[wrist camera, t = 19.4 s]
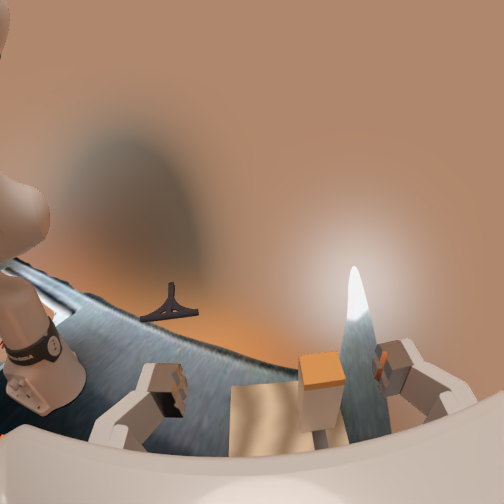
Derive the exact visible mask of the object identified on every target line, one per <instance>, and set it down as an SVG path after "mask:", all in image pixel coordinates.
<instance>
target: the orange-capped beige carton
mask: <svg viewBox="0 0 504 504" xmlns="http://www.w3.org/2000/svg"><path fill="white" fill-rule="evenodd" d="M345 380H346V378H345V375H344V372H343V369H342V366H341V363H340V360H339V357H338V354H337V351H331V352H324V353H317V354H309V355H301V356H299V365H298V401H297V408H298V415H299V422H300V428H301V433H303V432H311V431H318V430H324V429H330V428H335V424H336V420H337V416H338V412H339V408H340V403H341V399H342V394H343V390H344V385H345Z"/></svg>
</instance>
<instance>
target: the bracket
mask: <svg viewBox="0 0 504 504" xmlns="http://www.w3.org/2000/svg"><path fill="white" fill-rule="evenodd" d="M168 289H169V290H168V298H167V300H166V302H165V303H164V304H163V305H162V306H161V307H160V308H159V309H157V310H156V311H154V312H152V313H151V314H148V315H146V316H140V322H148V321H150V322H154V321H162V320H170V319H177V318H185V317H192V316H198V315H199V312H198V309H189V308H185V307H183V306H181V305H179V304H178V303H177V302H176V300H175V298H174V296H175V285H174V282H171V283H169V288H168ZM173 310H177V311H178V312H173ZM165 311H166V313H163V312H165ZM161 313H163V314H161Z"/></svg>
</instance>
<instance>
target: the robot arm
mask: <svg viewBox="0 0 504 504" xmlns="http://www.w3.org/2000/svg"><path fill="white" fill-rule="evenodd" d="M9 22H10V15H9V8H8V4H7V2H6V0H0V58H1V52H2V50H3V48H4V45H5V42H6V39H7V35H8V31H9ZM49 225H50V212H49V207H48V204H47V202H46V200H45V198H44V196H43V195H42V194H41V193H40V191H38V190H37V189H36V188H35V187H33V186H30V185H25V184H21V183H18V182H16V181H14V180H12V179H11V178H9V177H7V176H6V175H5V174H4V173H2V172H1V171H0V264H1V263H3V262H6V261H8V260H10V259H12V258H15V257H17V256H19V255H22V254H24V253H26V252H27V251H29V250H30V249H32V248H33V247H35V246H36V245H37V244H39V243H40V242H42V241H43V240H44V239H45V238H46V236H47V233H48V230H49ZM0 337H1V338H2V340H3V341H2V342H1V343H0V345H1V344H2V343H3V342H4V343H3V345H2V349H3V348H4V346H5V349H6V353H7V355H8V356H7V359H6V362H5V364H4V368H3V372H4V375H5V377H6V378H7V380H8V383H7V387H6V393H7V394H8V396H10V397H11V398H13V399H14V400H16V401H17V402H19V403H20V404H22V405H24V406H25V407H27V408H28V409H30V410H32V411H33V412H35V413H37V414H39V415H40V416H46V415H47V414H49V413H50V412H51V411H53V410H54V409H56V408H59V407H62V406H64V405H66V404H68V403H70V402H71V401H72V400H74V399H75V398H76V397H77V396H78V395H79V393H80V392H81V390H82V389H83V387H84V384H85V381H86V372H85V369H84V367H83V366H82V365H81V364H80V363H79V361H78V357H77V355H76V353H75V352H74V351H71V350H70V348H69V347H68V345H67V344H66V343H65V341H64V340H63V338H62V337H61V335H60V334H59V333H58V331H57V329H56V327H55V324H54V323H53V321H52V320H51V318H50V317H49V316H47V314H46V312H45V310H44V308H43V305H42V303H41V301H40V299H39V297H38V294H37V292H36V290H35V288H34V287H33V285H32V284H31V283H29V282H28V281H27V280H25V279H23V278H20V277H13V276H8V275H5V274H4V273H2V272H1V271H0ZM375 352H376V356H375V357H374V358H373V361H372V371H373V375H374V378H375V379H376V380H378V381H379V385H378V388H379V390H380V393H381V395H382V398H384V397H388V396H393V395H397V394H400V395H401V396H402V397H404V398H405V399H406V400H407V401H408V402H410V403H411V404H412V405H413V406H415V407H416V408H417V409H418V410H420V411H421V412H422V413H423V414H425V415H426V416H427V418H426V420H425V421H424V423H423V424H422V425H419V426H416V427H413V428H410V429H407V430H404V431H400V432H397V433H393V434H390V435H386V436H383V437H379V438H375V439H371V440H367V441H362V442H358V443H353V444H348V445H343V446H338V447H333V448H327V449H321V450H314V451H307V452H299V453H290V454H280V455H268V456H252V457H194V456H177V455H165V454H155V453H148V452H147V451H146V450H145V449H144V447H143V446H142V443H143V442H144V441H145V440H146V439H147V438H148V437H149V435H150V434H151V433H152V432H153V431H154V430H155V429H156V428H157V426H158V425H159V424H160V423H161V422H162V421H163V419H164V417H173V418H183V416H184V411H185V403H184V401H183V400H184V399H185V398H186V397H187V393H188V385H187V380H186V377H185V376H184V375H182V370H183V369H182V367H181V364H172V363H145V365H144V366H143V369H142V372H141V375H140V378H139V381H138V384H137V387H136V390H135V391H131V392H130V393H129V394H128V395H126V396H125V397H124V398H123V399H121V400H120V401H119V402H118V403H117V404H115V405H114V406H113V407H112V408H110V409H109V410H108V411H107V412H105V413H104V414H103V415H102V416H100V417H99V418H98V419H97V420H96V422H95V424H94V427H93V430H92V432H91V435H90V438H89V441H88V442H85V441H81V440H77V439H73V438H70V437H66V436H62V435H59V434H55V433H52V432H49V431H46V430H42V429H39V428H37V427H34V426H31V425H27V424H24V425H21V426H19V427H17V428H15V429H14V430H12V431H11V432H9V433H7V434H6V435H4V436H3V437H1V438H0V504H504V389H503V390H501V391H500V392H497V393H495V394H494V395H492V396H490V397H488V398H486V399H483V400H481V401H479V402H477V400H476V398H475V396H474V395H473V393H472V391H471V390H470V388H469V386H468V384H467V383H466V382H464V381H462V380H460V379H458V378H456V377H454V376H453V375H451V374H449V373H447V372H445V371H444V370H442V369H440V368H438V367H436V366H434V365H432V364H431V363H429V362H424V360H423V359H422V357H421V355H420V354H419V352H418V350H417V349H416V347H415V345H414V344H413V342H412V340H411V339H410V338H405V339H400V340H396V341H391V342H387V343H382V344H377V346H376V349H375Z"/></svg>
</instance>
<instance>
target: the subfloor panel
mask: <svg viewBox="0 0 504 504" xmlns="http://www.w3.org/2000/svg"><path fill="white" fill-rule="evenodd" d="M297 401H298V381H292V382H282V383H271V384H259V385H243V386H231V410H230V437H229V457H252V456H268V455H280V454H290V453H299V452H307V451H314V450H321V449H327V448H333V447H338V446H343V445H348V444H349V441H348V437H347V433H346V429H345V426H344V422H343V418H342V414H341V410H340V408H339V412H338V416H337V420H336V424H335V428H330V429H324V430H318V431H311V432H303V433H301V428H300V422H299V415H298V408H297Z"/></svg>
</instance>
